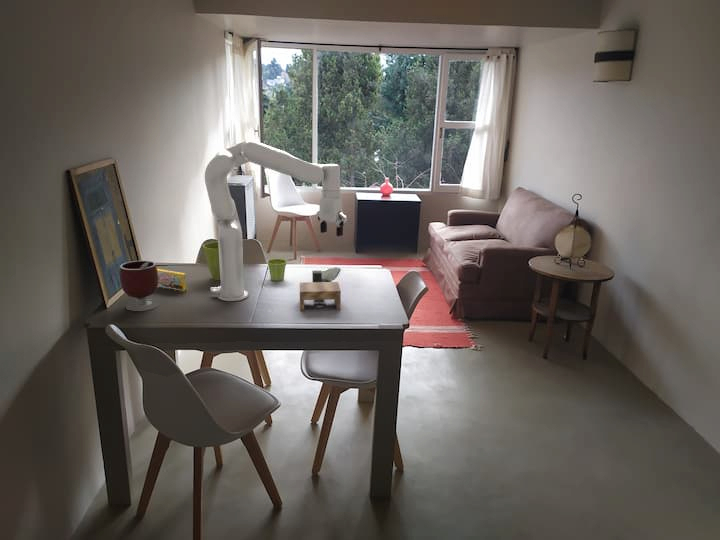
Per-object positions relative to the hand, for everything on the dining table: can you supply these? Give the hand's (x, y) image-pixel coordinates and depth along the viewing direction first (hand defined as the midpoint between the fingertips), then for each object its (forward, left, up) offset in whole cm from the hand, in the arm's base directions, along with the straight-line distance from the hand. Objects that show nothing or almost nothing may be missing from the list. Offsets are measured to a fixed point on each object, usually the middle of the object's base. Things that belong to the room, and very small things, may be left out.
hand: (331, 234), depth 230 cm
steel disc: (-6, -19, -26) cm, 33 cm away
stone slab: (0, +25, -27) cm, 37 cm away
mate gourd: (-76, -15, -26) cm, 82 cm away
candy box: (-70, +7, -26) cm, 75 cm away
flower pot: (-50, +22, -26) cm, 61 cm away
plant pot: (-24, +19, -26) cm, 40 cm away
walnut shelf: (-6, -18, -26) cm, 32 cm away
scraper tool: (-6, -2, -26) cm, 27 cm away
